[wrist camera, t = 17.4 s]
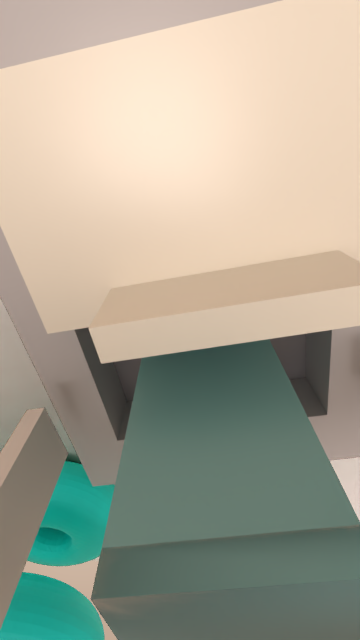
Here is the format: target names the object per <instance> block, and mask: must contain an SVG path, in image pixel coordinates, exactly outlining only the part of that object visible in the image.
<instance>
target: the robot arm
mask: <svg viewBox="0 0 360 640" xmlns="http://www.w3.org/2000/svg"><path fill="white" fill-rule="evenodd" d="M67 455H68V452H67V450H66V448H65V446H64V444H63V442H62V440H61V438H60V436H59V434H58V433H57V431H56V429H55V427H54V425H53V423H52V421H51V419H50V417H49V415H48V413H47V411H46V409H45V407H44V408H37V409H30V410H27V411H26V412H25V414H24V415H23V417H22V419H21V420H20V422H19V423H18V425H17V427H16V428H15V430H14V432H13V433H12V435H11V436H10V438H9V440H8V441H7V443H6V444H5V446H4V448H3V449H2V451H1V453H0V629H1V626H2V624H3V621H4V619H5V616H6V613H7V611H8V608H9V606H10V603H11V600H12V598H13V595H14V593H15V590H16V587H17V585H18V582H19V580H20V577H21V574H22V571H23V569H24V566H25V564H26V561H27V559H28V556H29V554H30V551H31V548H32V546H33V543H34V541H35V538H36V535H37V533H38V530H39V528H40V525H41V522H42V520H43V517H44V515H45V512H46V509H47V507H48V504H49V502H50V499H51V496H52V494H53V491H54V489H55V486H56V483H57V481H58V478H59V476H60V473H61V470H62V468H63V465H64V463H65V460H66V457H67Z"/></svg>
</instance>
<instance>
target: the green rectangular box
mask: <svg viewBox="0 0 360 640" xmlns="http://www.w3.org/2000/svg"><path fill="white" fill-rule="evenodd" d="M91 600H92V602H93V603H94V605H95V606H96V608H97V609H98V610H99V612H100V614H101V615H102V617H103V618H104V619H105V621H106V623H107V624H108V626H109V627H110V629H111V630H112V632H113V633H114V635H115V636H116V638H117V639H118V640H360V522H359V520H358V518H357V516H356V514H355V512H354V510H353V508H352V505H351V503H350V501H349V499H348V497H347V495H346V493H345V491H344V489H343V487H342V485H341V483H340V481H339V479H338V477H337V475H336V473H335V471H334V469H333V467H332V465H331V463H330V461H329V459H328V457H327V455H326V453H325V451H324V449H323V447H322V445H321V443H320V441H319V439H318V437H317V435H316V433H315V431H314V429H313V427H312V425H311V423H310V421H309V419H308V417H307V415H306V412H305V410H304V408H303V406H302V404H301V402H300V400H299V398H298V396H297V394H296V392H295V390H294V388H293V386H292V384H291V382H290V380H289V378H288V376H287V374H286V372H285V370H284V368H283V366H282V364H281V362H280V360H279V358H278V356H277V354H276V352H275V350H274V348H273V346H272V344H271V342H270V340H269V339H266V340H259V341H252V342H246V343H239V344H232V345H225V346H218V347H212V348H205V349H198V350H191V351H184V352H178V353H171V354H164V355H157V356H150V357H144V358H142V359H141V364H140V369H139V373H138V378H137V383H136V388H135V392H134V397H133V402H132V407H131V411H130V416H129V421H128V426H127V430H126V435H125V440H124V445H123V449H122V454H121V459H120V464H119V468H118V473H117V478H116V483H115V487H114V492H113V497H112V501H111V506H110V511H109V516H108V520H107V525H106V530H105V535H104V539H103V544H102V549H101V554H100V558H99V563H98V568H97V573H96V577H95V582H94V587H93V592H92V596H91Z"/></svg>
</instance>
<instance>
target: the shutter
mask: <svg viewBox="0 0 360 640" xmlns="http://www.w3.org/2000/svg"><path fill="white" fill-rule="evenodd" d="M0 226H1V229H2V231H3V233H4V236H5V238H6V240H7V242H8V245H9V247H10V249H11V252H12V254H13V256H14V258H15V261H16V263H17V265H18V268H19V270H20V272H21V274H22V277H23V279H24V281H25V284H26V286H27V288H28V290H29V293H30V295H31V297H32V300H33V302H34V304H35V306H36V309H37V311H38V313H39V316H40V318H41V320H42V322H43V325H44V327H45V329H46V332H47V334H50V333H56V332H62V331H69V330H75V329H81V328H88V327H89V328H88V329H89V332H90V334H91V337H92V340H93V343H94V345H95V348H96V351H97V354H98V356H99V359H100V362H101V364H103V363H110V362H116V361H123V360H130V359H137V358H144V357H150V356H157V355H164V354H171V353H178V352H184V351H191V350H198V349H205V348H212V347H218V346H225V345H232V344H239V343H246V342H252V341H259V340H266V339H273V338H280V337H286V336H293V335H300V334H307V333H314V332H320V331H327V330H334V329H341V328H348V327H354V326H360V0H281V1H277V2H273V3H269V4H265V5H261V6H257V7H253V8H249V9H244V10H240V11H236V12H232V13H228V14H224V15H220V16H216V17H212V18H207V19H203V20H199V21H195V22H191V23H187V24H183V25H179V26H175V27H171V28H166V29H162V30H158V31H154V32H150V33H146V34H142V35H138V36H134V37H129V38H125V39H121V40H117V41H113V42H109V43H105V44H101V45H97V46H93V47H88V48H84V49H80V50H76V51H72V52H68V53H64V54H60V55H56V56H51V57H47V58H43V59H39V60H35V61H31V62H27V63H23V64H19V65H15V66H10V67H6V68H2V69H0Z"/></svg>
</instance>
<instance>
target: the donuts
mask: <svg viewBox="0 0 360 640" xmlns="http://www.w3.org/2000/svg"><path fill="white" fill-rule="evenodd" d="M114 487H115V485H114V484H111V485H102V486H92V484H91V482H90V480H89V478H88V476H87V474H86V472H85V469H84V467H83V465H82V464H78V463H75V462H70V461H65V463H64V465H63V468H62V470H61V473H60V476H59V478H58V481H57V483H56V486H55V489H54V491H53V494H52V496H51V499H50V502H49V504H48V507H47V509H46V512H45V515H44V517H43V520H42V522H41V525H40V528H39V530H38V533H37V535H36V538H35V541H34V543H33V546H32V548H31V551H30V554H29V556H28V559H27V561H30V562H33V563H37V564H42V565H49V566H70V565H76V564H81V563H84V562H87V561H90V560H93V559H95V558H97V557H98V556H100V554H101V549H102V544H103V539H104V535H105V530H106V525H107V520H108V516H109V511H110V506H111V501H112V497H113V492H114ZM0 640H104V630H103V625H102V622H101V619H100V617H99V614H98V612H97V611H96V609H95V608H94V606H93V605H92V603H91V602H90V601H89V600H88V599H87V598H86V597H85V596H84V595H83V594H81V593H80V592H79V591H77V590H76V589H75V588H73V587H71V586H70V585H68V584H66V583H64V582H61V581H59V580H56V579H53V578H50V577H47V576H43V575H39V574H33V573H26V572H22V574H21V577H20V580H19V582H18V585H17V587H16V590H15V593H14V595H13V598H12V600H11V603H10V606H9V608H8V611H7V613H6V616H5V619H4V621H3V624H2V626H1V629H0Z"/></svg>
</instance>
